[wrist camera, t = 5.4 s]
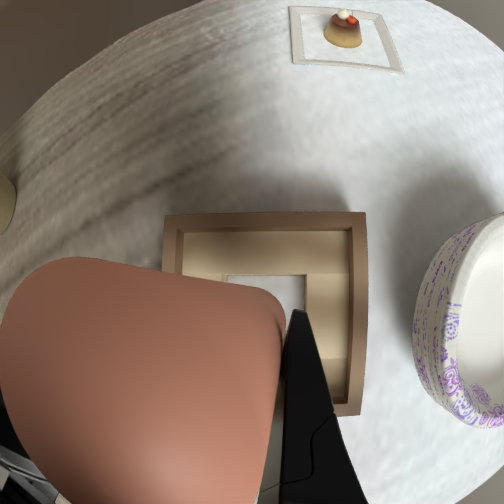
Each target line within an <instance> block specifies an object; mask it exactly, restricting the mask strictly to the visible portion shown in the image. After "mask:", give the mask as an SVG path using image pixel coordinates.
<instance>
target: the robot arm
mask: <svg viewBox="0 0 504 504" xmlns="http://www.w3.org/2000/svg"><path fill="white" fill-rule="evenodd" d="M334 412H335V409H334V405H333V402H332V398H331V394H330V391H329V387H328V383H327V380H326V376H325V372H324V369H323V365H322V362H321V358H320V355H319V351H318V348H317V344H316V341H315V337H314V334H313V330H312V327H311V324H310V320H309V317H308V314H307V312H306V311H302V310H298V309H294V310H293V312H292V315H291V319H290V322H289V326H288V330H287V334H286V338H285V342H284V347H283V351H282V357H281V365H280V372H279V379H278V386H277V393H276V400H275V406H274V413H273V419H272V425H271V431H270V437H269V443H268V449H267V454H266V460H265V465H264V471H263V476H262V481H261V485H260V490H259V496H258V502H257V504H369V503H368V501H367V499H366V498H365V495H364V493H363V491H362V488H361V486H360V483H359V480H358V478H357V475H356V473H355V470H354V468H353V465H352V463H351V460H350V458H349V455H348V452H347V450H346V447H345V444H344V441H343V438H342V434H341V431H340V428H339V424H338V420H337V416H336V413H334ZM58 494H59V492H58V491H57V490H56V489H55V488H54V487H53V486H52V485H51V484H50V483H49V482H48V480H47V479H46V478H45V477H44V476H43V475H42V473H41V472H40V471H39V470H38V468H37V467H36V466H35V464H34V463H33V461H32V460H31V459H30V457H29V455H28V454H27V452H26V451H25V449H24V447H23V446H22V444H21V442H20V440H19V438H18V436H17V434H16V432H15V430H14V428H13V425H12V423H11V420H10V418H9V415H8V412H7V409H6V406H5V403H4V399H3V395H2V391H1V386H0V504H56V503H55V500H56V498H57V496H58Z"/></svg>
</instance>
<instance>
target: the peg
mask: <svg viewBox="0 0 504 504" xmlns="http://www.w3.org/2000/svg"><path fill="white" fill-rule="evenodd" d="M285 326H286V318H285V313H284V310H283V308H282V306H281V304H280V302H279V301H278V300H277V299H276V297H274V296H273V295H272V294H271V293H269V292H268V291H266V290H264V289H261V288H257V287H251V286H245V285H239V284H232V283H226V282H220V281H214V280H208V279H202V278H197V277H191V276H185V275H180V274H174V273H169V272H163V271H158V270H152V269H147V268H142V267H137V266H132V265H126V264H121V263H116V262H111V261H107V260H102V259H97V258H87V257H70V258H62V259H59V260H55V261H52V262H49V263H47V264H45V265H43V266H42V267H40V268H38V269H36V270H35V271H34V272H33V273H31V274H30V275H29V276H28V277H27V278H26V279H25V280H24V281H23V282H22V283H21V284H20V286H19V287H18V288H17V290H16V291H15V293H14V294H13V296H12V298H11V299H10V302H9V304H8V306H7V308H6V311H5V314H4V317H3V320H2V324H1V328H0V386H1V391H2V395H3V399H4V403H5V406H6V409H7V412H8V415H9V418H10V420H11V423H12V425H13V428H14V430H15V432H16V434H17V436H18V438H19V440H20V442H21V444H22V446H23V447H24V449H25V451H26V452H27V454H28V455H29V457H30V459H31V460H32V461H33V463H34V464H35V466H36V467H37V468H38V470H39V471H40V472H41V473H42V475H43V476H44V477H45V478H46V479H47V480H48V482H49V483H50V484H51V485H52V486H53V487H54V488H55V489H56V490H57V491H58V492H59V493H60V494H61V495H62V496H63V497H65V498H66V499H67V500H68V501H69V502H70V503H72V504H253V503H254V501H255V499H256V497H257V494H258V491H259V488H260V485H261V481H262V476H263V471H264V465H265V460H266V454H267V449H268V443H269V437H270V431H271V425H272V419H273V413H274V406H275V400H276V393H277V386H278V379H279V372H280V365H281V357H282V350H283V343H284V335H285Z"/></svg>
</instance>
